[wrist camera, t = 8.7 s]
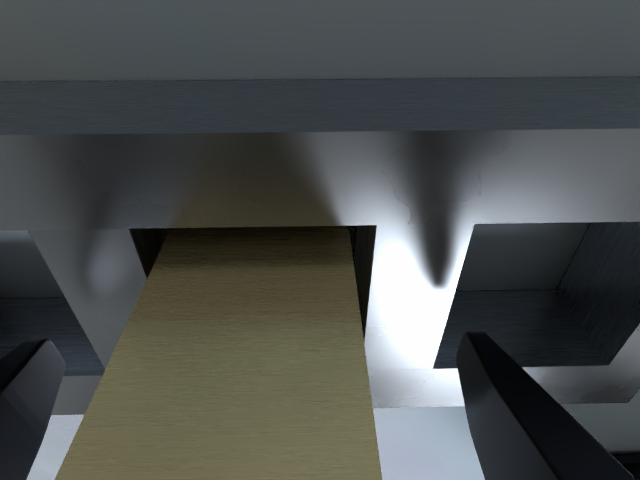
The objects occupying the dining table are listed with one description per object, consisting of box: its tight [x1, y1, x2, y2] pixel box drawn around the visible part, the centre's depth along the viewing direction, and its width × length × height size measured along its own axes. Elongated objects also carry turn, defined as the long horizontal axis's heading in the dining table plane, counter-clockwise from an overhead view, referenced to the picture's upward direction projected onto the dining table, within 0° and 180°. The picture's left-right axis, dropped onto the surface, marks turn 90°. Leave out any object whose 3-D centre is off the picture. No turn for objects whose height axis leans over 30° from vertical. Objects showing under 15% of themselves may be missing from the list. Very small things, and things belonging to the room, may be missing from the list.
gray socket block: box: [0, 77, 640, 415], centre depth 11 cm, size 22×9×3 cm, turn 90°
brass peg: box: [55, 226, 382, 480], centre depth 9 cm, size 4×4×9 cm
